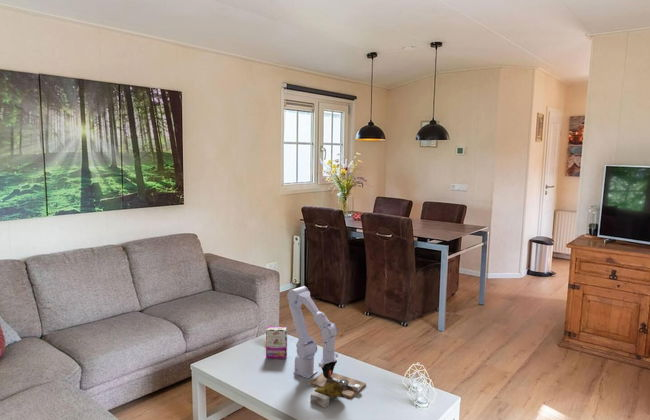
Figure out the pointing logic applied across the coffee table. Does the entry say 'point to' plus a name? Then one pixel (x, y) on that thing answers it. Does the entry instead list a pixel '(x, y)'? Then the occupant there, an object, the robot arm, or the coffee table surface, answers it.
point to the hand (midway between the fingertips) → (328, 375)
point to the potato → (331, 390)
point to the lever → (344, 383)
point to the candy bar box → (276, 342)
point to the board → (322, 381)
